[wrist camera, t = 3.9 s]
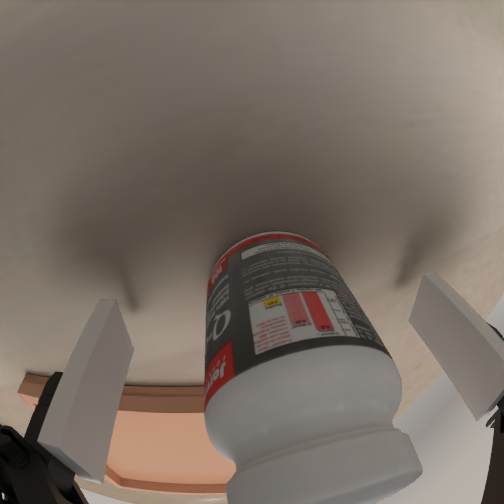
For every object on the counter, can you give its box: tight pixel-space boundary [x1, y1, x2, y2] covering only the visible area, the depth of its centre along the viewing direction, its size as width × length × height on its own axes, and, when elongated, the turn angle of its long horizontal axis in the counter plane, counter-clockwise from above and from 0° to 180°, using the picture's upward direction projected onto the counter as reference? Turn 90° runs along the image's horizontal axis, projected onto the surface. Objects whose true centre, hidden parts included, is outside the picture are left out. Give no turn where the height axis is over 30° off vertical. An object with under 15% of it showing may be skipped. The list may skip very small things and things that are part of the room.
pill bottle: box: [204, 231, 423, 504], centre depth 9 cm, size 6×6×10 cm
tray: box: [17, 374, 236, 495], centre depth 19 cm, size 20×20×2 cm
